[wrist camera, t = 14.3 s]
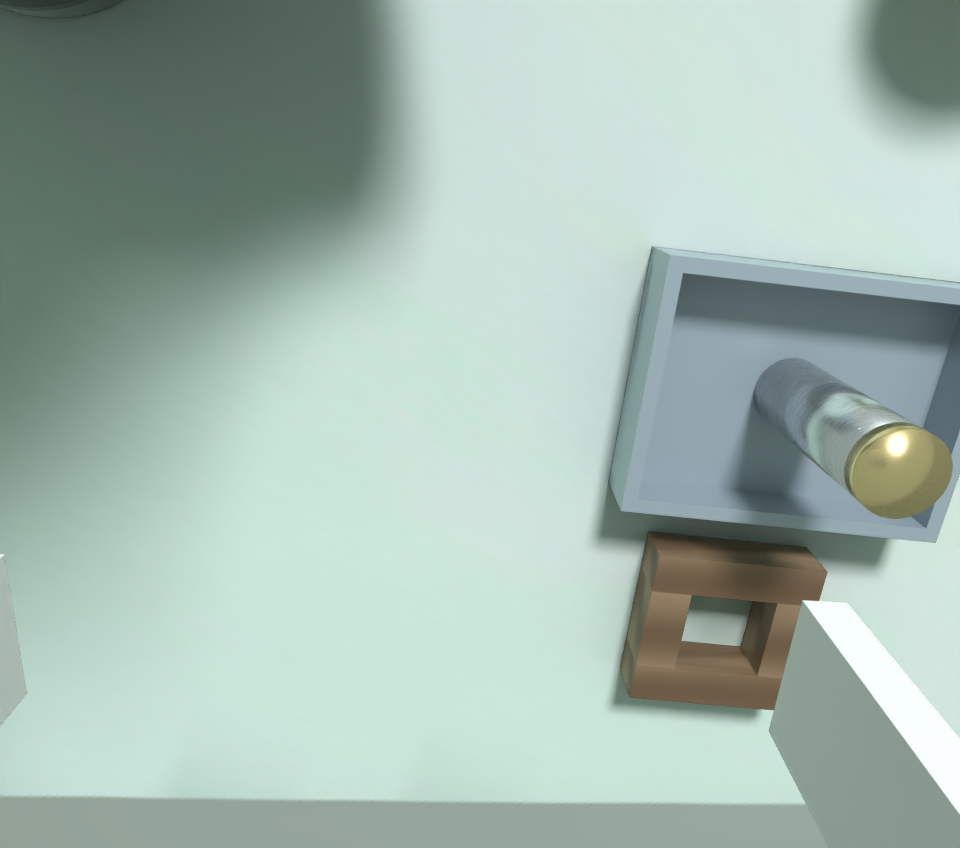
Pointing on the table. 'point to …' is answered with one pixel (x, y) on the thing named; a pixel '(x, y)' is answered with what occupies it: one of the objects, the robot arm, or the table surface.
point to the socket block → (722, 574)
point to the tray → (738, 365)
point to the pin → (855, 439)
